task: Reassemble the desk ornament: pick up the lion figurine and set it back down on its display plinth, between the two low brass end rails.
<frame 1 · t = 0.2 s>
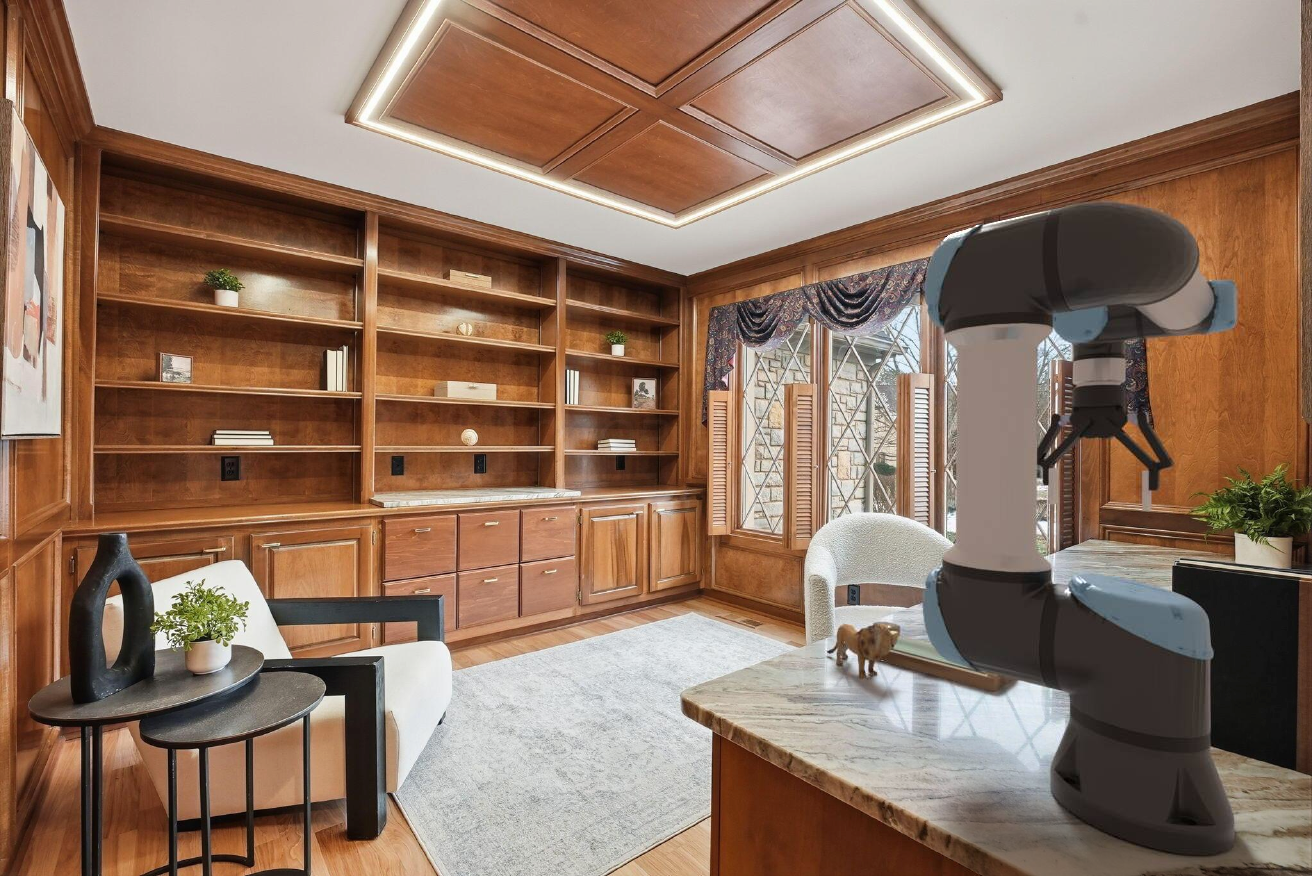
hand: (1097, 507, 109), 28 cm above the table, fingers open, 13 cm apart
paperweight: (886, 640, 122), on the table
plinth: (938, 666, 108), on the table
lion figurine: (859, 670, 105), on the table
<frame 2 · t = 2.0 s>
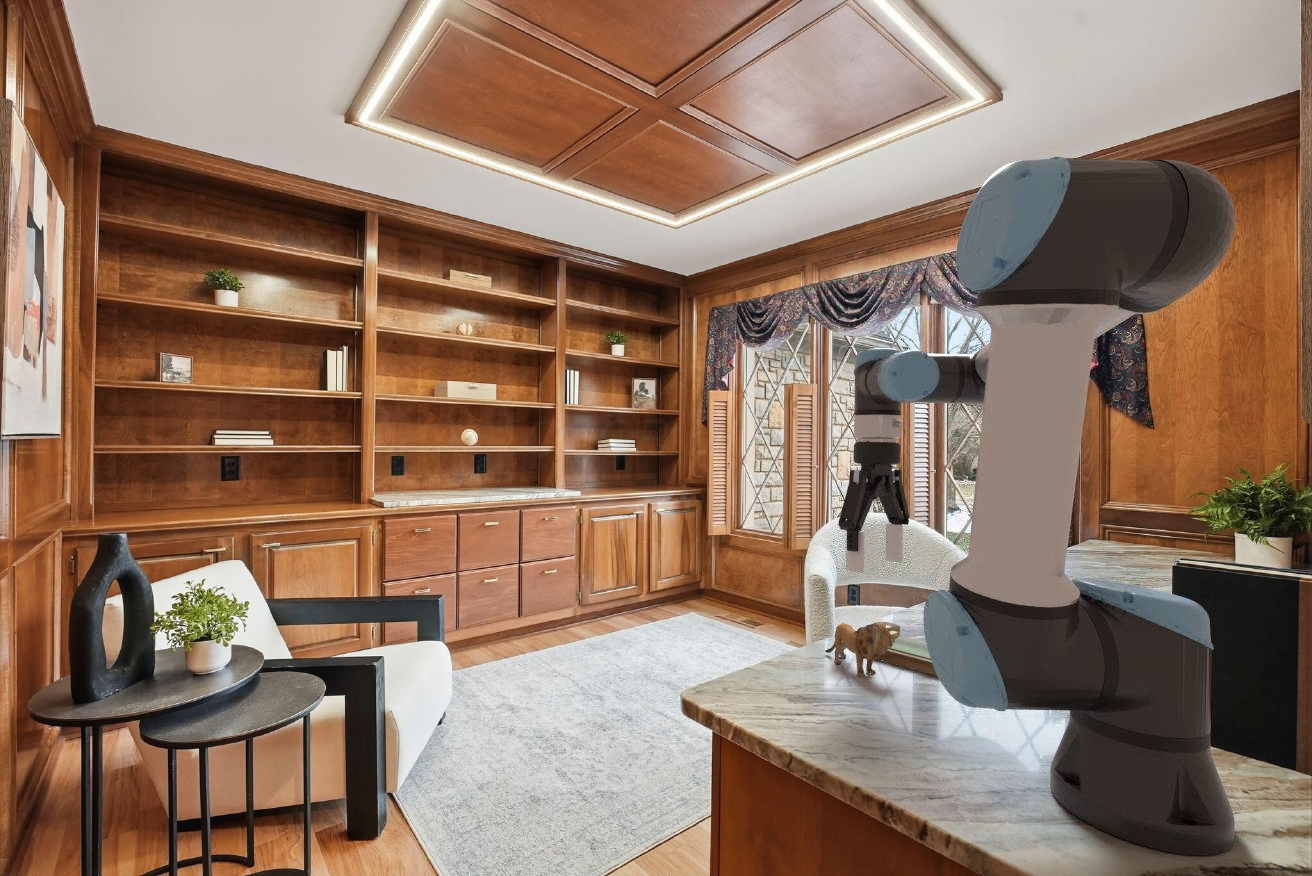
hand: (875, 566, 106), 17 cm above the table, fingers open, 13 cm apart
nothing on the table moved.
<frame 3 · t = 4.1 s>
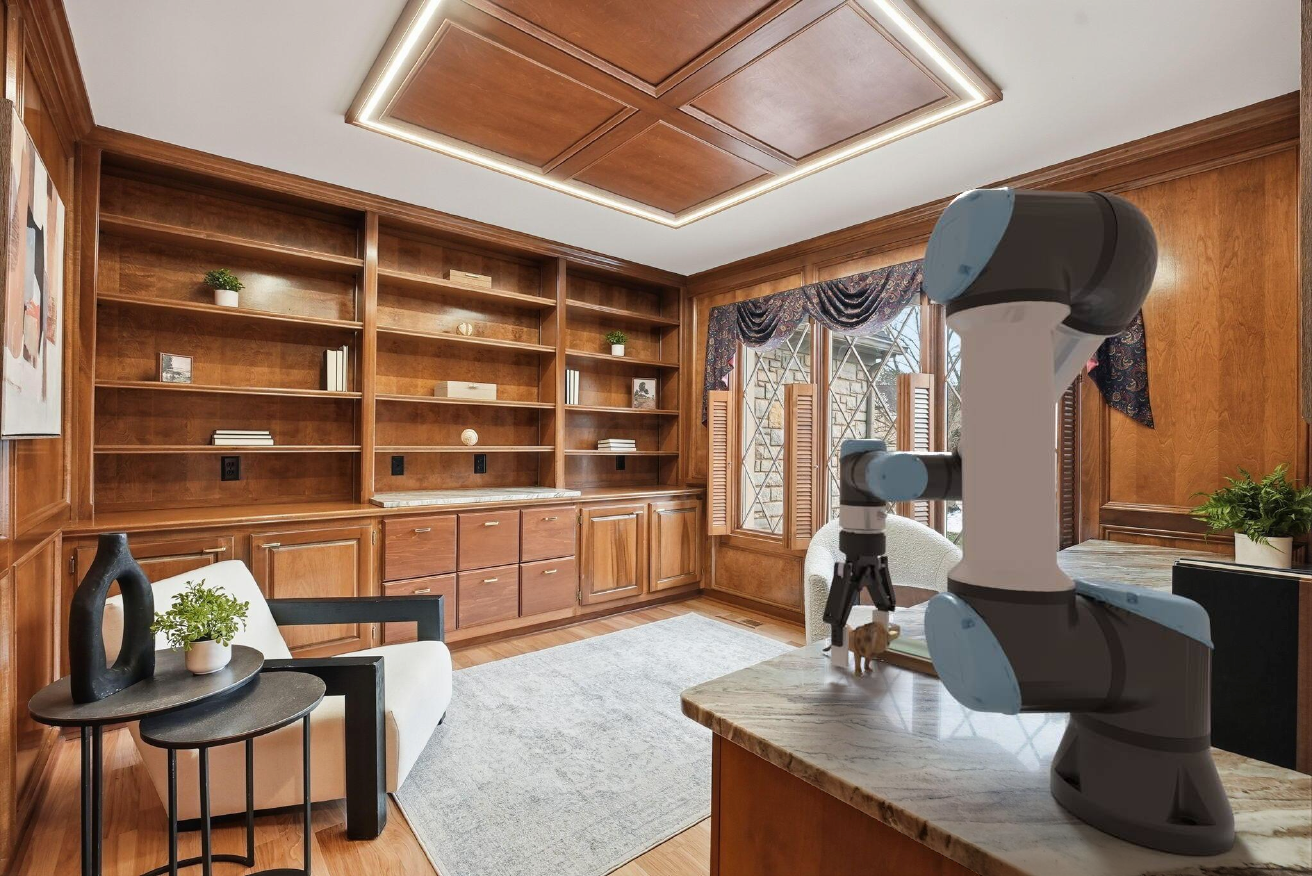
hand: (860, 656, 105), 2 cm above the table, fingers open, 13 cm apart
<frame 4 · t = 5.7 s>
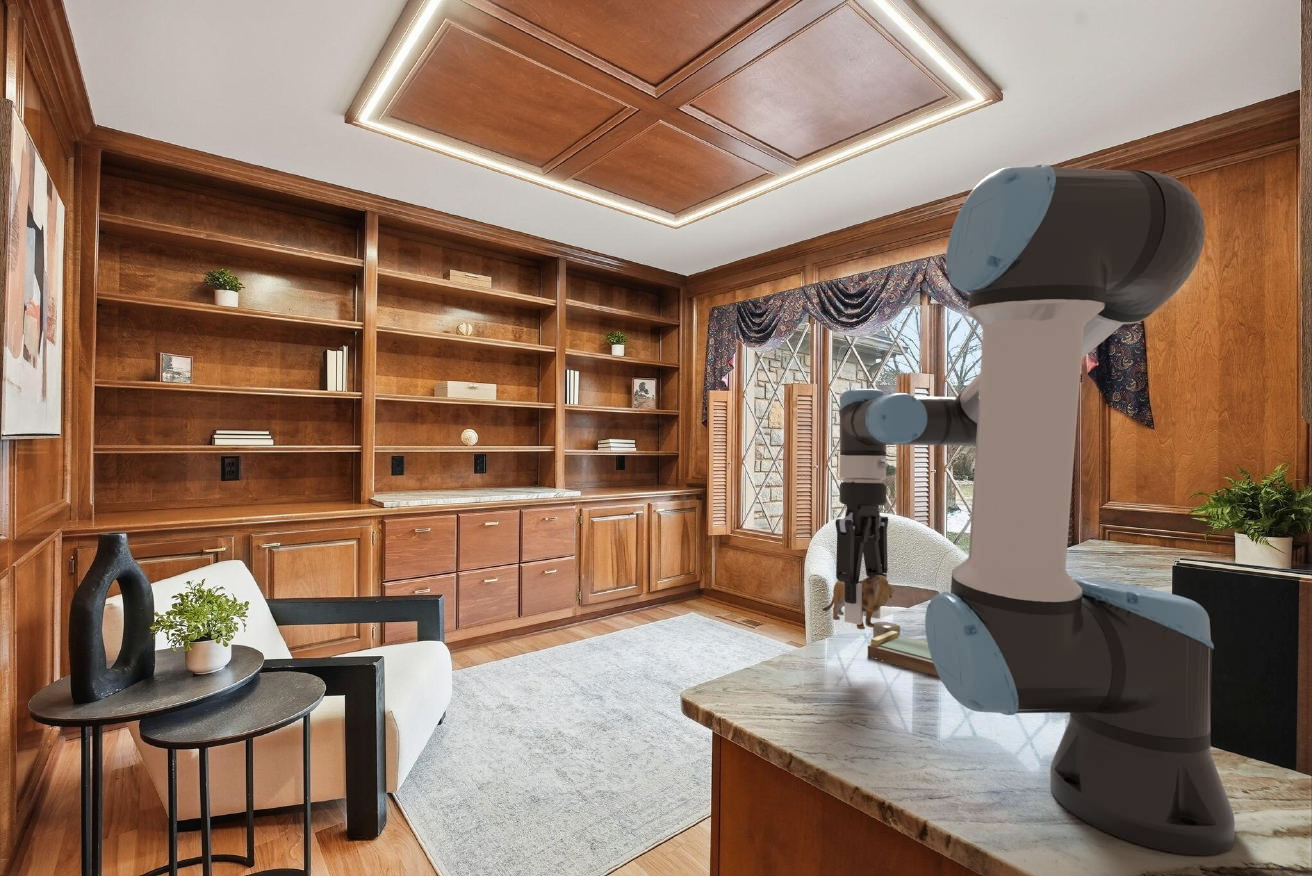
hand: (862, 619, 105), 9 cm above the table, fingers closed on lion figurine, 5 cm apart
lion figurine: (856, 624, 106), point 7 cm above the table, touching gripper
everything else where it was.
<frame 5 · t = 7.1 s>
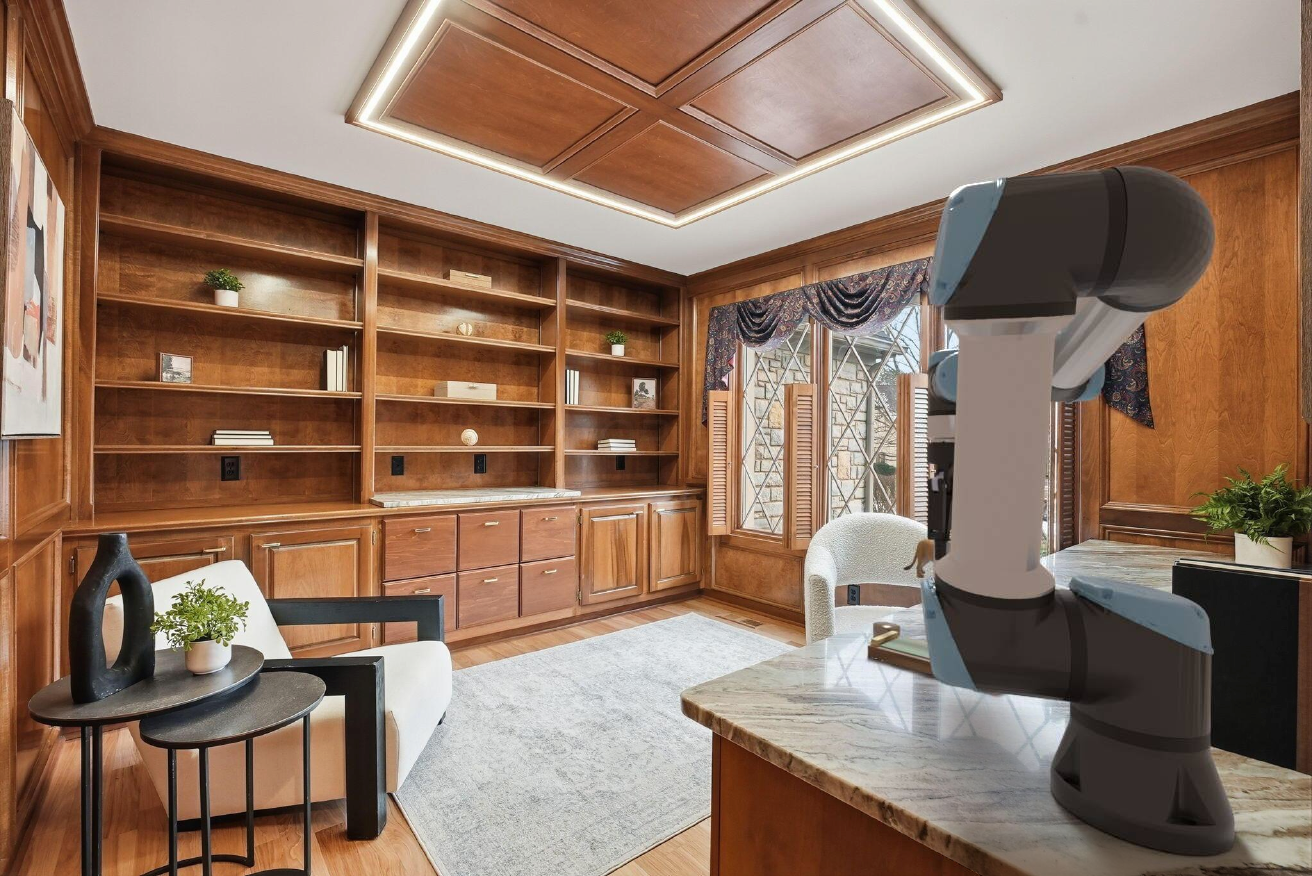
hand: (949, 577, 106), 16 cm above the table, fingers closed on lion figurine, 5 cm apart
lion figurine: (942, 582, 108), point 14 cm above the table, touching gripper
everything else where it was.
when the fingers open (4 cm above the table, at t = 9.0 s): lion figurine drops 1 cm, resting on plinth.
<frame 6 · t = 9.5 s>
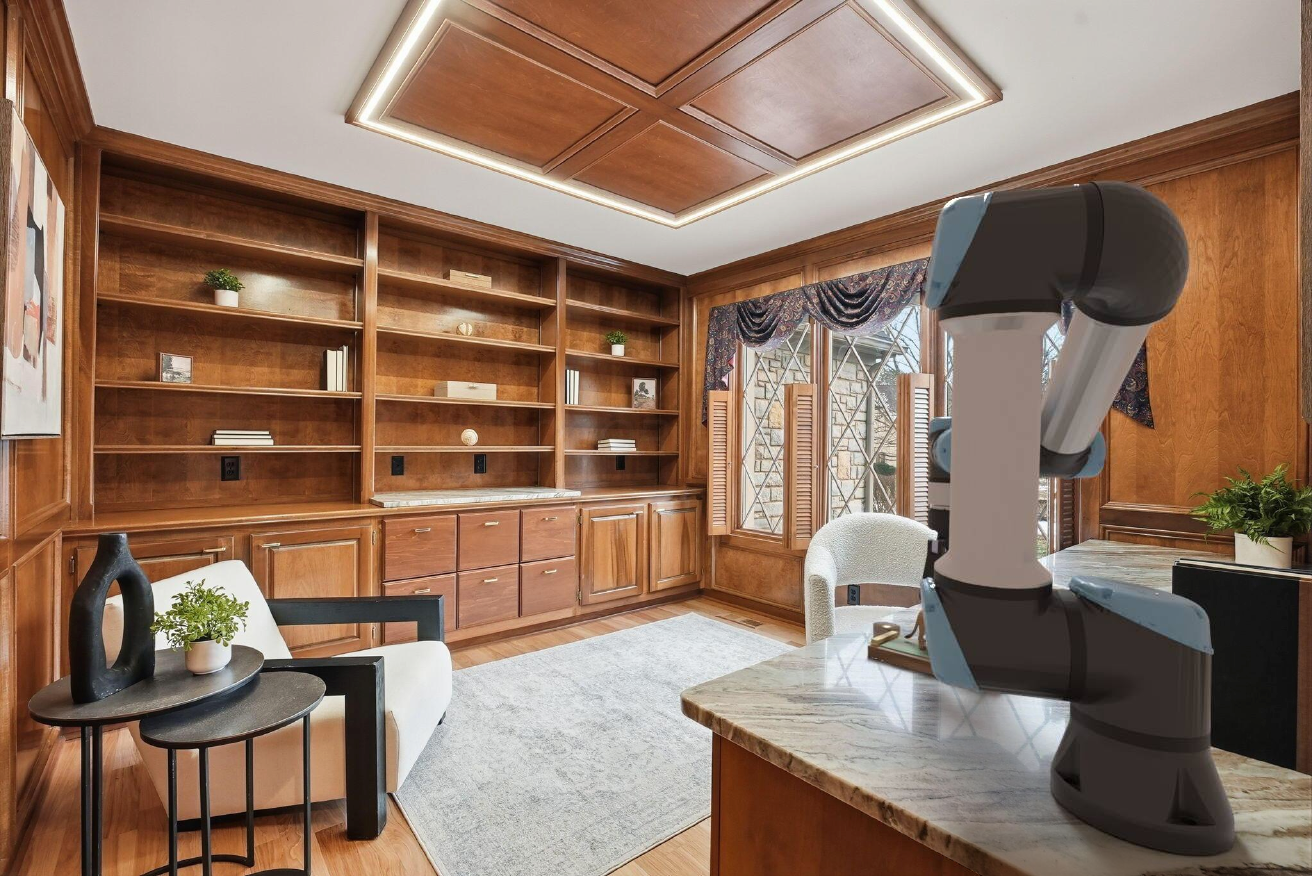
hand: (950, 634, 106), 6 cm above the table, fingers open, 12 cm apart
lion figurine: (944, 653, 108), point 2 cm above the table, touching plinth
everything else where it was.
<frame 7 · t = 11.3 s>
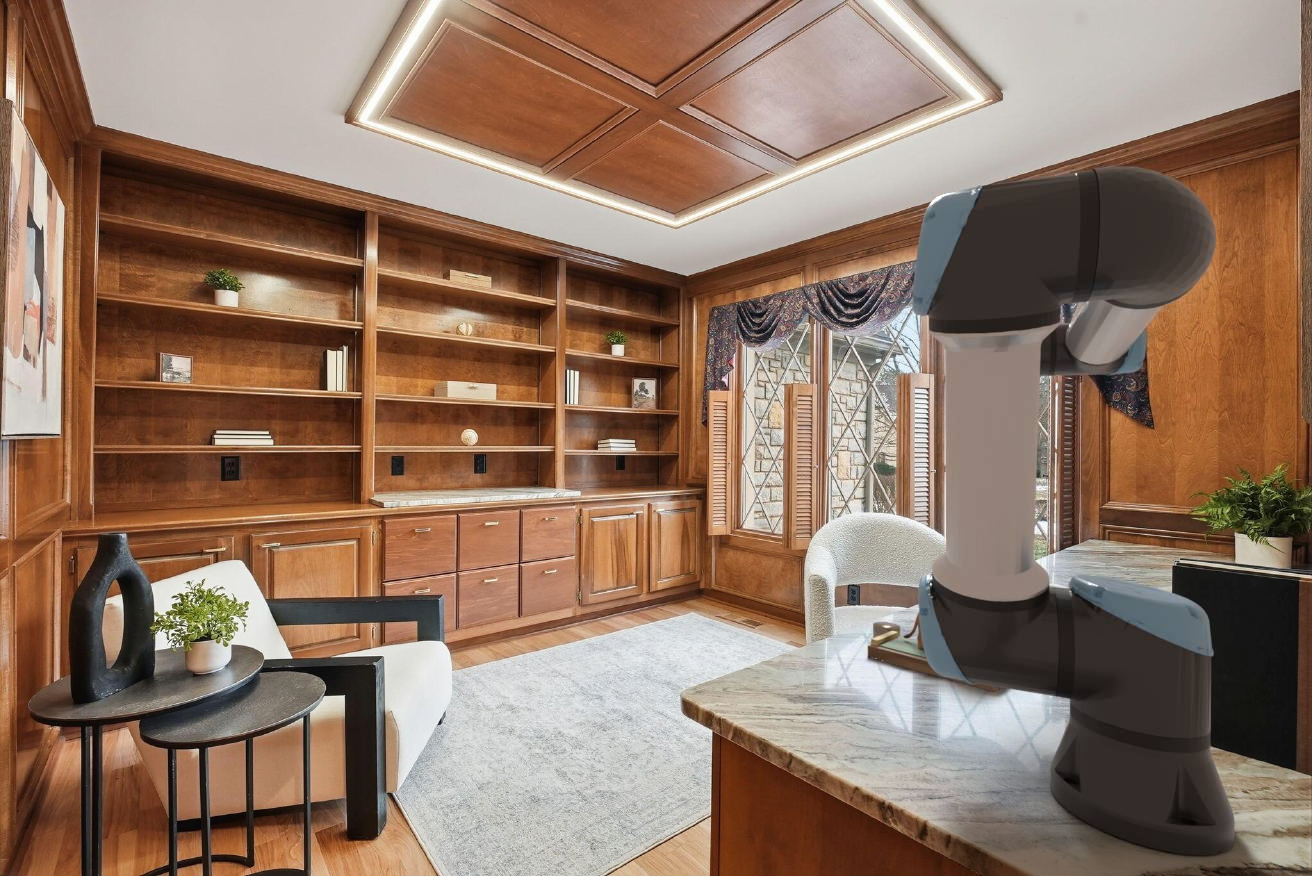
hand: (988, 549, 103), 21 cm above the table, fingers open, 13 cm apart
nothing on the table moved.
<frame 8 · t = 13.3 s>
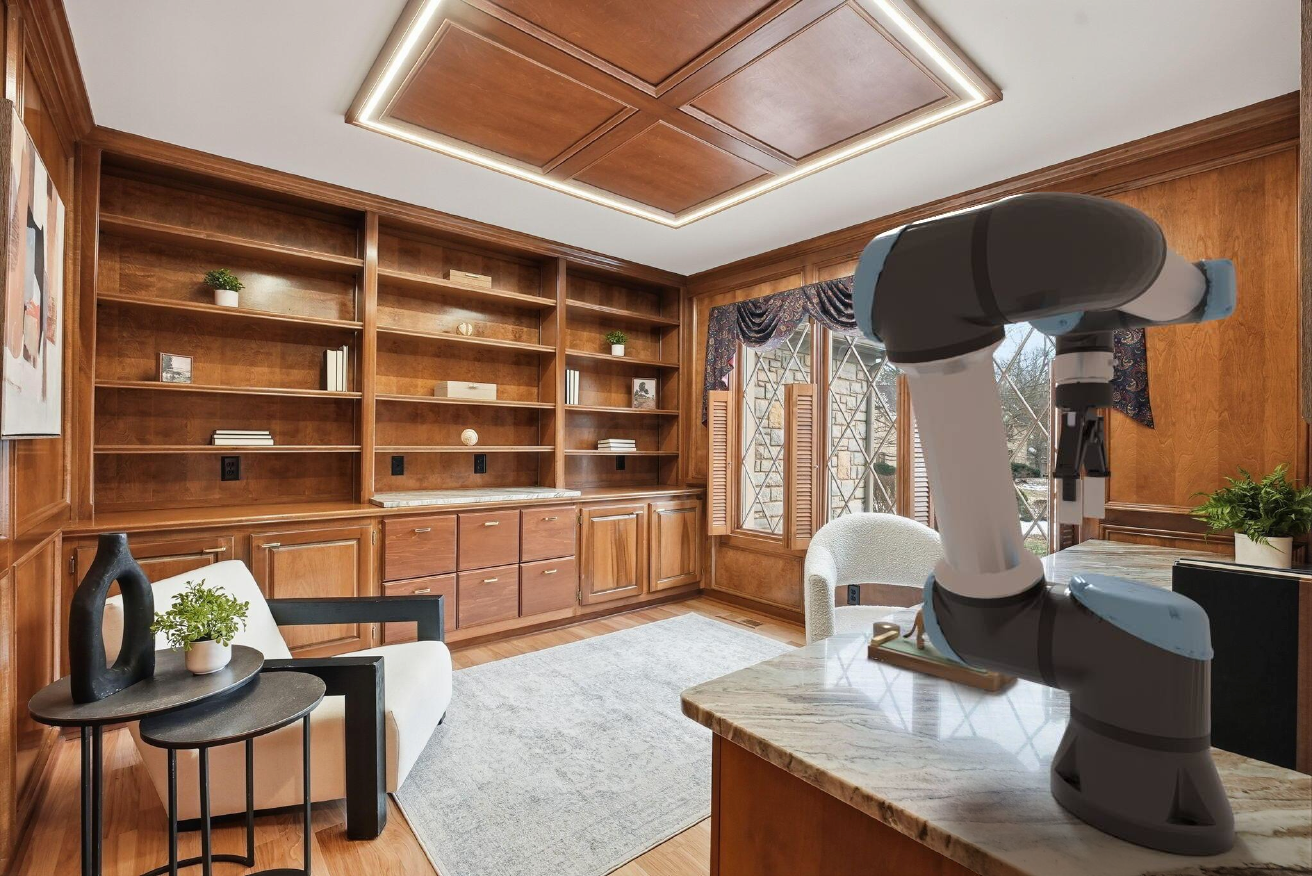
hand: (1082, 520, 96), 27 cm above the table, fingers open, 13 cm apart
nothing on the table moved.
at the end: lion figurine inside the target area on the plinth (1.2 cm from its centre), point 2.0 cm above the plinth's base; lion figurine tilted 0°; the gripper is holding nothing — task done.
